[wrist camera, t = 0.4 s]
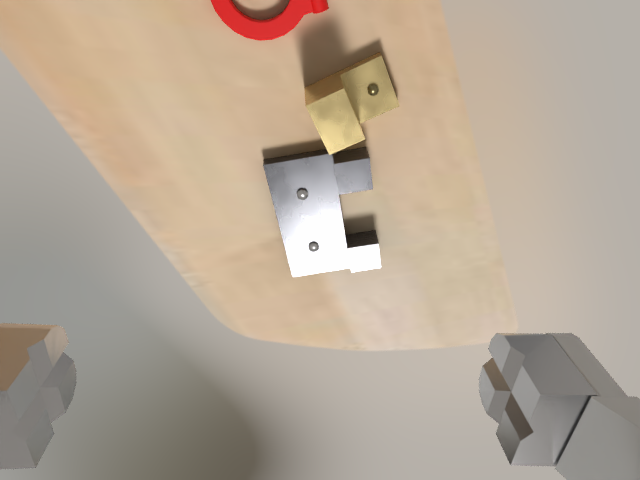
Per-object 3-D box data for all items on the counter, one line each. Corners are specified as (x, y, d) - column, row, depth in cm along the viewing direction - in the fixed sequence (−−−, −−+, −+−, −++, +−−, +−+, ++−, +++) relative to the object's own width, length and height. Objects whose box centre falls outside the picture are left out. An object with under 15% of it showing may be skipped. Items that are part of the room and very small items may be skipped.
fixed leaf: (263, 159, 46) (262, 171, 44) (365, 142, 46) (369, 153, 44) (292, 270, 55) (292, 285, 53) (378, 257, 54) (381, 270, 52)
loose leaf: (304, 87, 42) (305, 105, 38) (379, 52, 41) (389, 67, 37) (326, 133, 45) (329, 155, 41) (397, 101, 44) (407, 120, 39)
